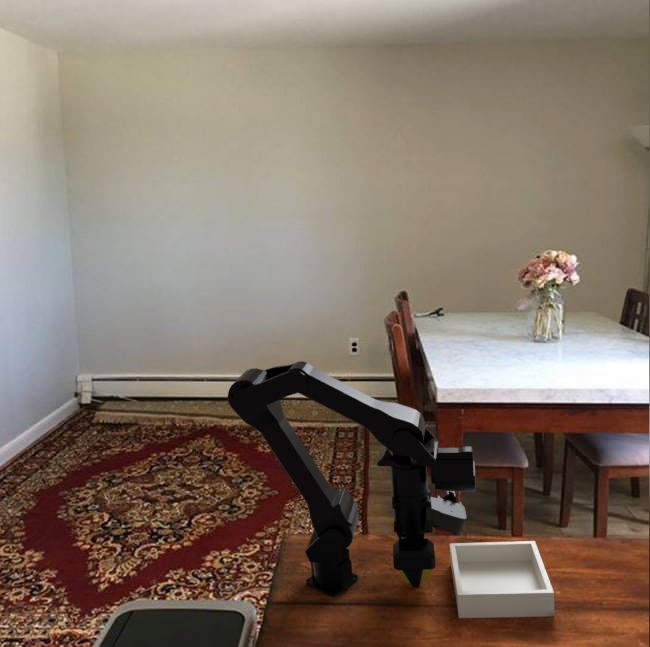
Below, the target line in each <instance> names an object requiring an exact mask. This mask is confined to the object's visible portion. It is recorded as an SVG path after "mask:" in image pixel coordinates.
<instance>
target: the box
mask: <svg viewBox="0 0 650 647" xmlns="http://www.w3.org/2000/svg"><path fill="white" fill-rule="evenodd" d="M449 552H450V553H449V554H450V556H449V557H450V567H451V575H452V580H453V588H454V595H455V602H456V608H457V615H458V616H457V617H458V619H479V618H480V619H482V618H483V619H485V618H487V619H489V618H530V617H531V618H535V617H537V618H539V617H545V618H546V617H547V618H548V617H555V592H554V588H553V586H552V583H551V581H550V578H549V576H548V573H547V571H546V567H545V565H544V563H543V562H544V561H543V560H542V557H541V554H540V551H539V548H538V546H537V543H536V541H535V540H523V541H521V540H520V541H488V542H457V543H456V542H454V543H449Z"/></svg>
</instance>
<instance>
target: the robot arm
mask: <svg viewBox="0 0 650 647" xmlns="http://www.w3.org/2000/svg"><path fill="white" fill-rule="evenodd" d="M295 394H300V395H302V396H303V397H306V398H307V399H309V400H311V401H313V402H316V403H317V404H319V405H321V406H323V407H325V408H327V409H329V410H330V411H332V412H333V413H336V414H338V415H340V416H342V417H344V418H346V419H348V420H350V421H352V422H353V423H355V424H358V425H360V426H362V427H363V428H364V429H366V430H367V431H368V432H369V433H370V435H371V436H373V437H374V439H375V440H376V441H377V442H378V443H380V444H381V445H382V446H384V447H385V449H384V450H383V451H382V452H380V453H379V455H378V458H377V461H376V465H377V466H378V467H389V471H390V483H391V508H392V517H393V532H394V533H396V535H397V537H398V540H396V541H395V542H394V543H393V544H392V560H393V562H392V563H393V569H394V570H396V571H399V570H402V571H403V572H404V574H405V576H406V577H407V579H408V581H409V582H410V586H411V587H412V588H414V589H419V588H420V586H421V584H420V583H421V578H422V573H423V570H430V569H432V570H434V569H435V568H436V565H437V564H436V553H435V543H433V542H432V541H431V540H430V539H428V538H425V534H429V533H430V534H434V529H436V530H440V531H443V532H446V533H449V534H452V535H453V536H456V537H459V536H461V534H462V533H463V529H464V526H465V523H466V521H467V519H468V517H467V512H466V508H465V506H464V505H463V504H462V502H461V501H457V496H456V492H475V493H476V491H477V488H476V483H477V482H476V463H475V460H474V450H473V448H474V447H472V446H460V447H439V440H438V439H437V438H436V436H434V434H433V433H432V432H431V430H429V429H428V428H427V426H426V422H425V419H424V416H423V414H422V413H421V412H420V411H419V410H417V409H414V408H412V407H409V406H406V405H403V404H400V403H397V402H392V401H391V402H389V401H382V400H380V399H379V400H378V399H376V398H374V397H372V396H369V395H368V394H365V393H364V392H362V391H360V390H358V389H356V388H354V387H352V386H350V385H349V384H346V383H344V382H343V381H341V380H339V379H336V378H335V377H332V376H331V375H328V374H327V373H325V372H323V371H321V370H319V369H317V368H315V367H313V366H312V364H310V363H309V362H306V361H300V360H299V361H296V362H294V363H291V364H285V365H277V366H272V367H270V368H266V369H261V368H257V367H256V368H250V369H246V370H245V371H244V372H243V373H242V374H241V375H239V377H237V379H236V380H235V381H234V382H233V384H232V383H231V386H230V387H229V389H228V392H227V397H226V398H227V403H228V404H229V407H230V409H232V410H233V411H234V412H235V414H236V415H237V416H239V418H240V419H241V420H242V421H243V422H244V423H245V424H247V425H248V426H250V427H252V428H253V429H255V430H256V431H258V432H259V433H260V434H261V436H262V438H263V439H264V440H265V442H266V444H267V445H268V447H269V448H270V450H271V451H272V453H273V455H274V456H275V457H276V459H277V460H278V462H279V463H280V465H281V466H282V468H283V469H284V471H285V472H286V474H287V475H288V477H289V478H290V480H291V481H292V482H291V483H293V484H294V486H295V488H296V489H297V491H298V493H299V494H300V496H301V497H302V498H303V500H304V502H305V504H306V505H307V508H308V513H309V519H310V522H311V525H312V528H313V530H312V534H311V537H310V539H309V541H308V544H307V546H306V548H305V551H304V553H305V554H306V557H307V559H308V562H310V567H311V576H310V577H309V578H307V579H306V580H305V584H306V585H308V586H309V587H311V588H312V589H315V590H317V591H319V592H321V593H323V594H325V595H327V596H329V597H336V596H337V595H339V594H340V593H341V592H342V591H345V589H347V588H348V587H349V586H351V585H352V584H353V583H354V582H356V581H357V580H359V577H358V576H359V575H357V574H356V573H354V572H353V568H352V566H353V565H352V560H351V558H350V549H348V548H349V547H350V545H351V544H352V542H353V538H354V536H355V532H356V529H357V525H358V522H359V517H360V516H359V511H358V508H359V503H357V502H356V501H354V499H353V498H352V497H351V495H350V492H349V491H348V488H347V487H346V486H345V487H343V488H341V489H340V490H338V489H337V488H335V487H333V486H331V485H330V483H329V482H328V481H327V479H326V478H325V476H324V474H323V473H322V471H321V470H320V469H319V467H318V465H317V464H316V462H315V460H314V459H313V457H312V456H311V455H310V453H309V452H308V450H307V449H306V447H305V445H304V443H303V442H302V441H301V439H300V438H299V436H298V434H297V433H296V431H295V429H294V428H293V427H292V425H291V423H290V422H289V421H288V419H287V418H286V416H285V414H284V411H283V407H282V401H281V400H282V399H284V398H287V397H288V396H292V395H295ZM427 467H430V481H431V482H430V483H431V485H434V489H435V490H438V491H439V492H442V493H441V494H440V495H437V496H436V497H433V496H431V490H430V489H429V485H428V484H429V483H428V481H429V480H428V468H427Z"/></svg>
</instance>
